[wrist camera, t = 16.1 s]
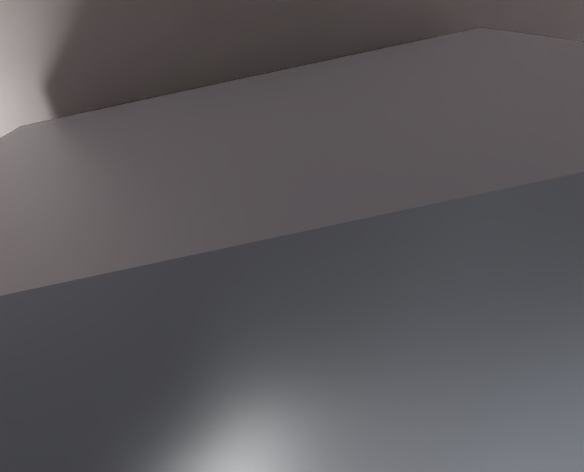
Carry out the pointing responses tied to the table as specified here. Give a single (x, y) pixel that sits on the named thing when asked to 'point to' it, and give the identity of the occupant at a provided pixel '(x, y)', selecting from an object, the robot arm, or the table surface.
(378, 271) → the slate gray cube
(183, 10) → the table surface
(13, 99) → the table surface
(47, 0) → the table surface
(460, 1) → the table surface
